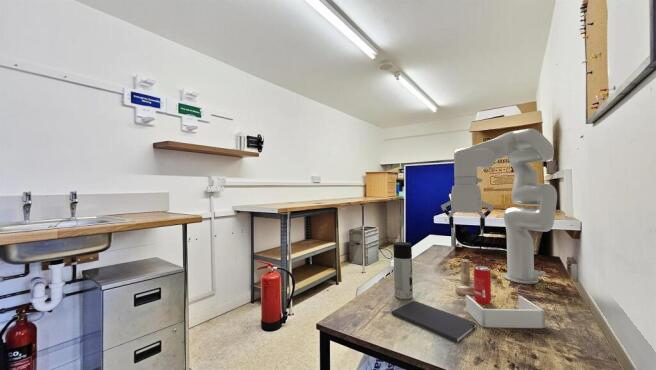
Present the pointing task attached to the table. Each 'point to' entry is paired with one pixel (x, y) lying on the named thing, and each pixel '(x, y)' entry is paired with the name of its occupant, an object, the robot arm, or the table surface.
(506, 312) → the box
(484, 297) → the beverage can
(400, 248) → the spray can
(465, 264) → the wooden block structure
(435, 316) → the notebook
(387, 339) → the table surface
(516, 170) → the robot arm
